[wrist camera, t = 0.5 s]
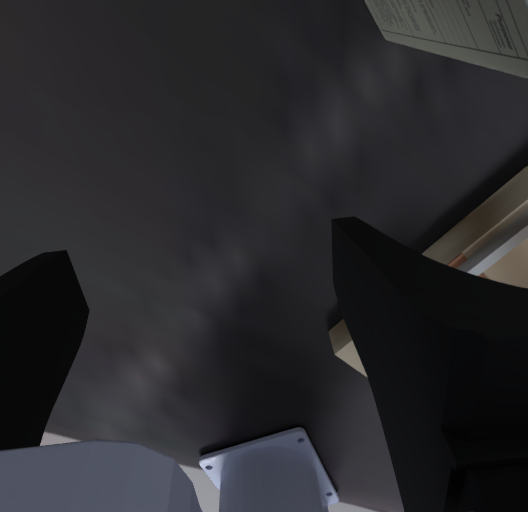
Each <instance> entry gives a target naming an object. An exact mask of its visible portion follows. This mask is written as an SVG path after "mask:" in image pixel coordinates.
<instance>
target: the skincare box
mask: <svg viewBox="0 0 528 512" xmlns="http://www.w3.org/2000/svg"><path fill="white" fill-rule="evenodd" d="M364 1H365V3H366V5H367V6H368V8H369V11H370V12H371V14H372V16H373V18H374V20H375V22H376V23H377V25H378V27H379V29H380V31H381V33H382V35H383V37H384V38H385V39H386V40H387V41H390V42H394V43H398V44H402V45H406V46H409V47H413V48H417V49H420V50H424V51H428V52H431V53H435V54H439V55H443V56H447V57H450V58H454V59H457V60H461V61H464V62H468V63H472V64H475V65H480V66H484V67H487V68H491V69H495V70H499V71H502V72H506V73H510V74H513V75H517V76H520V77H523V78H527V79H528V0H364Z"/></svg>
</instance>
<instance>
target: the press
mask: <svg viewBox="0 0 528 512" xmlns="http://www.w3.org/2000/svg"><path fill="white" fill-rule="evenodd" d="M422 255H424V256H426V257H428V258H431V259H433V260H435V261H437V262H440V263H443V264H445V265H448V266H450V267H453V268H456V269H458V270H461V271H464V272H467V273H470V274H473V275H476V276H480V277H483V278H487V279H490V280H494V281H497V282H501V283H505V284H509V285H514V286H518V287H523V288H528V166H526V167H525V168H524V169H523V170H522V171H520V172H519V173H518V174H517V175H516V176H514V177H513V178H512V179H511V180H510V181H508V182H507V183H506V184H505V185H503V186H502V187H501V188H500V189H499V190H497V191H496V192H495V193H494V194H493V195H491V196H490V197H489V198H488V199H487V200H485V201H484V202H483V203H482V204H481V205H479V206H478V207H477V208H476V209H475V210H473V211H472V212H471V213H470V214H469V215H467V216H466V217H465V218H464V219H463V220H461V221H460V222H459V223H458V224H457V225H455V226H454V227H453V228H452V229H451V230H449V231H448V232H447V233H446V234H445V235H443V236H442V237H441V238H440V239H439V240H437V241H436V242H435V243H434V244H433V245H431V246H430V247H429V248H428V249H427V250H425V251H424V252H423V253H422ZM328 333H329V336H330V340H331V343H332V347H333V351H334V354H335V355H336V356H337V357H339V358H340V359H342V360H343V361H345V362H346V363H347V364H349V365H350V366H352V367H353V368H355V369H356V370H357V371H359V372H360V373H362V374H363V375H365V376H366V377H367V375H366V372H365V370H364V367H363V365H362V362H361V360H360V358H359V355H358V353H357V350H356V348H355V346H354V343H353V341H352V338H351V336H350V333H349V331H348V329H347V326H346V324H345V321H344V319H343V320H341V321H340V322H339V323H338V324H336V325H335V326H334V327H333V328H332V329H330V330H329V331H328ZM367 378H368V377H367Z"/></svg>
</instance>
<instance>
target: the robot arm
mask: <svg viewBox="0 0 528 512" xmlns="http://www.w3.org/2000/svg"><path fill="white" fill-rule="evenodd" d="M332 254H333V283H334V287H335V291H336V295H337V299H338V303H339V307H340V311H341V314H342V316H343V319H344V321H345V324H346V326H347V329H348V331H349V333H350V336H351V338H352V341H353V343H354V346H355V348H356V350H357V353H358V355H359V358H360V360H361V362H362V365H363V367H364V370H365V372H366V375H367V377H368V380H369V383H370V386H371V389H372V392H373V395H374V399H375V402H376V406H377V409H378V413H379V416H380V420H381V423H382V427H383V430H384V434H385V438H386V442H387V445H388V449H389V453H390V456H391V460H392V464H393V468H394V472H395V476H396V480H397V484H398V487H399V491H400V495H401V499H402V503H403V507H404V511H405V512H528V288H523V287H518V286H514V285H509V284H505V283H501V282H497V281H494V280H490V279H487V278H483V277H480V276H476V275H473V274H470V273H467V272H464V271H461V270H458V269H456V268H453V267H450V266H448V265H445V264H443V263H440V262H437V261H435V260H433V259H431V258H428V257H426V256H424V255H422V254H420V253H418V252H416V251H414V250H412V249H410V248H408V247H406V246H404V245H402V244H400V243H399V242H397V241H395V240H393V239H392V238H390V237H388V236H386V235H385V234H383V233H381V232H380V231H378V230H377V229H375V228H373V227H372V226H370V225H368V224H367V223H365V222H363V221H362V220H360V219H358V218H356V217H346V218H337V219H332ZM88 315H89V308H88V305H87V303H86V300H85V298H84V295H83V292H82V290H81V287H80V284H79V282H78V279H77V276H76V274H75V271H74V269H73V266H72V263H71V261H70V258H69V255H68V253H67V250H63V251H55V252H46V253H42V254H40V255H37V256H35V257H33V258H31V259H29V260H28V261H26V262H24V263H22V264H20V265H19V266H17V267H15V268H14V269H12V270H10V271H8V272H7V273H5V274H3V275H2V276H0V512H202V510H201V508H200V505H199V502H198V499H197V496H196V492H195V489H194V486H193V483H192V481H191V480H190V479H189V478H188V476H187V475H186V474H185V473H184V471H183V470H182V469H181V468H180V466H179V465H178V464H177V462H176V461H175V460H174V459H173V458H172V457H170V456H169V455H167V454H164V453H162V452H160V451H157V450H155V449H153V448H150V447H148V446H146V445H143V444H141V443H139V442H134V441H116V440H98V439H97V440H89V441H80V442H71V443H63V444H54V445H46V446H40V443H41V440H42V436H43V433H44V430H45V427H46V424H47V422H48V419H49V416H50V414H51V411H52V409H53V407H54V404H55V402H56V400H57V398H58V395H59V393H60V391H61V389H62V386H63V384H64V382H65V379H66V377H67V375H68V373H69V370H70V368H71V366H72V364H73V361H74V359H75V357H76V354H77V352H78V350H79V347H80V345H81V342H82V339H83V335H84V332H85V328H86V324H87V319H88ZM199 464H200V466H201V467H202V469H203V470H204V471H205V473H206V474H207V475H208V476H209V478H210V479H211V481H212V482H213V483H214V485H215V486H216V487H217V489H218V490H219V491H220V502H219V512H328V506H329V505H333V504H336V503H337V502H338V501H339V498H338V494H337V492H336V490H335V488H334V486H333V484H332V482H331V480H330V478H329V477H328V475H327V473H326V471H325V469H324V467H323V465H322V463H321V461H320V459H319V457H318V455H317V453H316V451H315V449H314V447H313V445H312V443H311V441H310V439H309V437H308V435H307V434H306V432H305V430H304V429H303V428H301V427H297V428H293V429H290V430H286V431H283V432H280V433H276V434H273V435H269V436H266V437H263V438H259V439H256V440H253V441H249V442H246V443H242V444H239V445H236V446H232V447H229V448H226V449H222V450H219V451H215V452H212V453H209V454H205V455H203V456H201V457H200V459H199Z"/></svg>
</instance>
